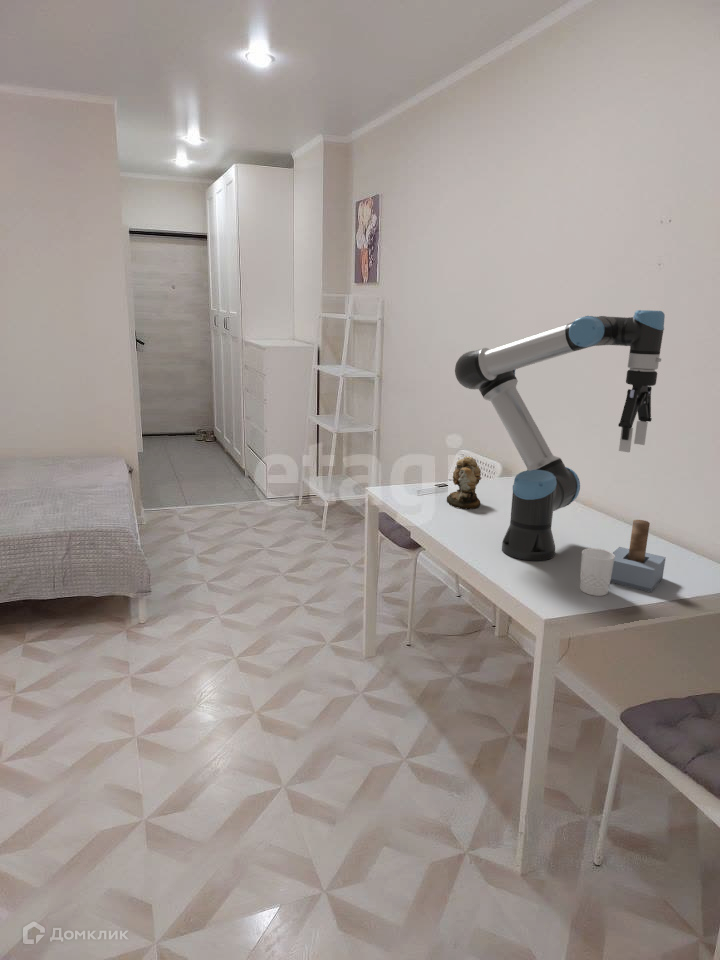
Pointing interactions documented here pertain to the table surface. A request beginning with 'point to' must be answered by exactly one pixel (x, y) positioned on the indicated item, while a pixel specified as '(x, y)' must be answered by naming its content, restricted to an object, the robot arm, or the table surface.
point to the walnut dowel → (638, 540)
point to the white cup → (596, 571)
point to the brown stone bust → (465, 484)
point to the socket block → (637, 570)
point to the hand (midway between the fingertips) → (632, 447)
